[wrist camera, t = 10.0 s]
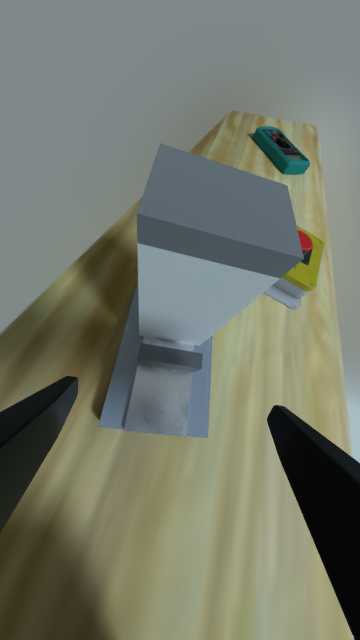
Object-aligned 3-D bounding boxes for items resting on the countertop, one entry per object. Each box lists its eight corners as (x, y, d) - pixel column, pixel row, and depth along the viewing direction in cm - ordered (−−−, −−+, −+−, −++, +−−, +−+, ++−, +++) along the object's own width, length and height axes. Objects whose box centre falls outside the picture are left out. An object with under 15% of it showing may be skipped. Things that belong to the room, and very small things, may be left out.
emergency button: (334, 230, 28) (323, 299, 21) (309, 251, 32) (294, 314, 25) (282, 201, 28) (256, 259, 21) (265, 225, 32) (237, 281, 25)
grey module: (199, 345, 18) (303, 258, 6) (139, 335, 17) (136, 213, 6) (202, 305, 20) (286, 183, 8) (148, 294, 19) (160, 141, 7)
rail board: (202, 434, 16) (207, 438, 15) (101, 423, 15) (98, 426, 14) (210, 297, 23) (214, 290, 21) (139, 281, 21) (139, 273, 20)
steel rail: (185, 435, 15) (186, 436, 14) (124, 429, 14) (123, 430, 14) (198, 287, 21) (199, 285, 21) (156, 277, 20) (157, 275, 20)
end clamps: (191, 373, 16) (201, 368, 14) (137, 364, 16) (137, 358, 13) (199, 285, 21) (208, 269, 18) (157, 276, 20) (159, 257, 17)
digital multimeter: (270, 140, 47) (278, 125, 44) (303, 176, 43) (314, 161, 40) (249, 139, 45) (256, 123, 42) (281, 177, 40) (291, 161, 38)
